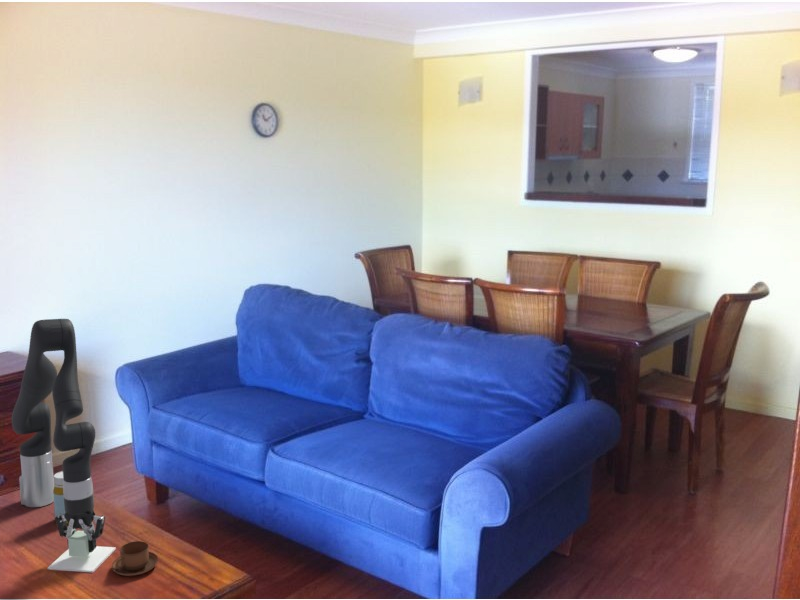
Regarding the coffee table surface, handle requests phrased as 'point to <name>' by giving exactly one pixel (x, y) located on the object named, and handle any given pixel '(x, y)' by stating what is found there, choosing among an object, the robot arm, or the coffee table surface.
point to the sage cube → (78, 544)
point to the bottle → (59, 494)
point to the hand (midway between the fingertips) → (82, 550)
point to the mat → (82, 560)
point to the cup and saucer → (134, 559)
